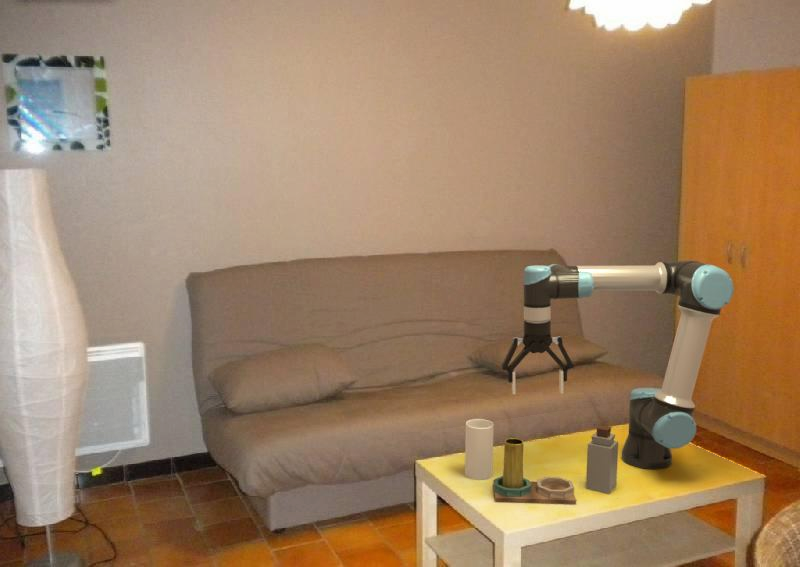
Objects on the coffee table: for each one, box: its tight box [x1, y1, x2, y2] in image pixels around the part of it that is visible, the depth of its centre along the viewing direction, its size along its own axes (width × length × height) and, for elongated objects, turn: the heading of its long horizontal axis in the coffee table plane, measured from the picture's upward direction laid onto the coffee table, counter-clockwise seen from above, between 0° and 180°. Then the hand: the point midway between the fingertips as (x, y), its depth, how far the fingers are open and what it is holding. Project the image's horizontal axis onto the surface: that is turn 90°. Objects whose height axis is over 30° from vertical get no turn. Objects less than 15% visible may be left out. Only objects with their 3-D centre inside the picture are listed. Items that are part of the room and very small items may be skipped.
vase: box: [502, 437, 524, 489], centre depth 221 cm, size 6×6×14 cm
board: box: [492, 475, 577, 505], centre depth 222 cm, size 22×12×3 cm, turn 86°
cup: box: [464, 418, 494, 481], centre depth 235 cm, size 8×8×16 cm
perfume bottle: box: [585, 424, 619, 495], centre depth 226 cm, size 7×7×18 cm
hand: (537, 392), depth 226 cm, fingers open, 13 cm apart
